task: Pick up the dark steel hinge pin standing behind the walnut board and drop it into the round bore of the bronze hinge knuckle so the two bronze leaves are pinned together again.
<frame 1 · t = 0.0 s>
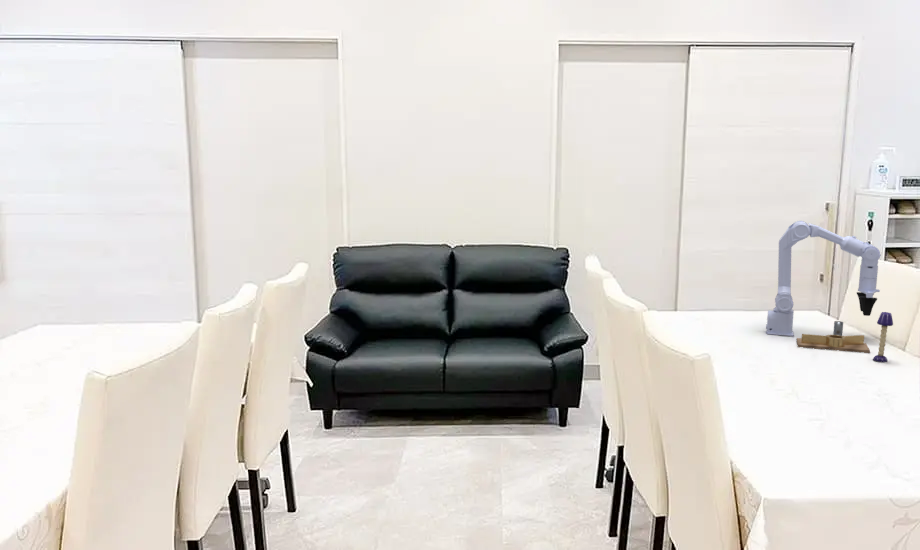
hand: (865, 313, 273), 10 cm above the table, tool pointing down, fingers open, 7 cm apart
board: (834, 348, 263), on the table
hinge: (832, 339, 264), on the board, point 3 cm above the table
toy lamp: (881, 361, 246), on the table
pin: (837, 340, 274), on the table
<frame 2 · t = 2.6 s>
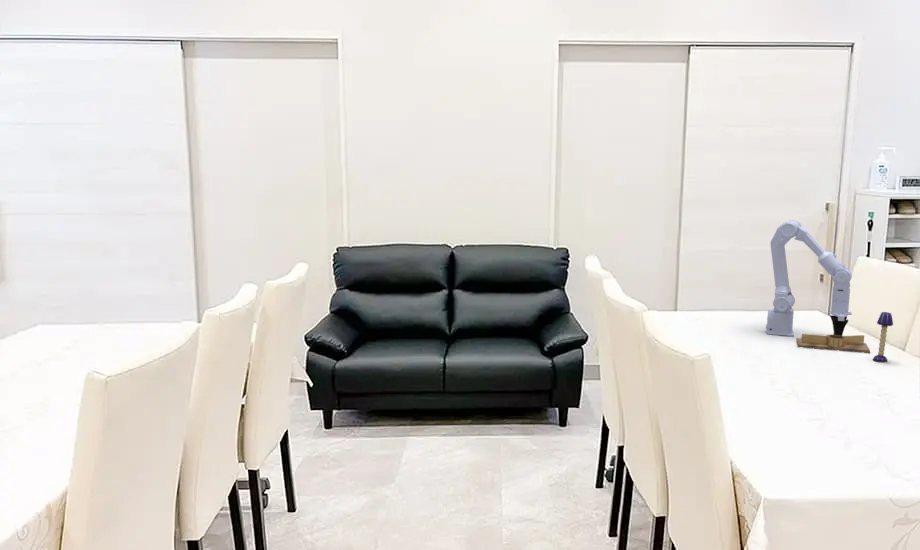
hand: (837, 335, 274), 2 cm above the table, tool pointing down, fingers closed on pin, 3 cm apart
pin: (837, 340, 274), on the table, touching gripper
everything else where it was.
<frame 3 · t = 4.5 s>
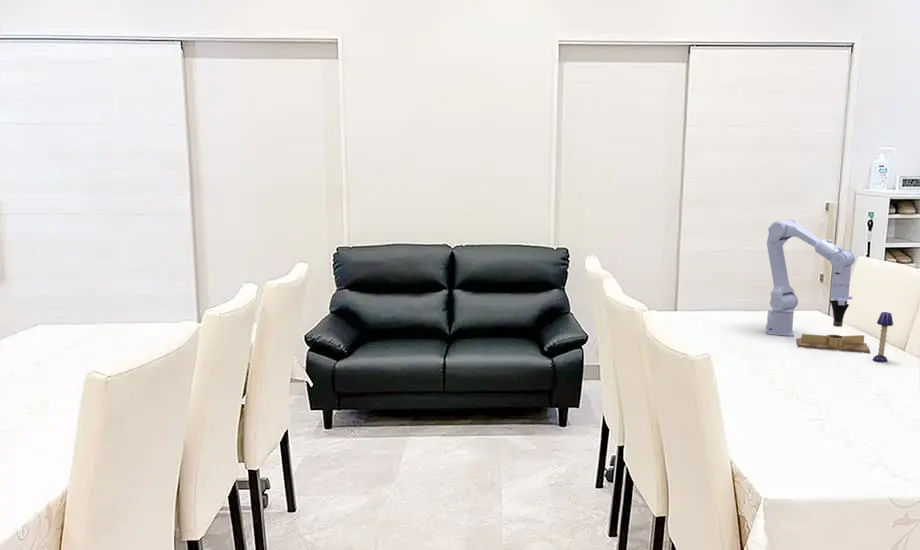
hand: (837, 321, 266), 9 cm above the table, tool pointing down, fingers closed on pin, 3 cm apart
pin: (837, 325, 266), point 7 cm above the table, touching gripper
everything else where it was.
when the fingers open (5 cm above the table, at t = 6.4 s): pin drops 2 cm, resting on board.
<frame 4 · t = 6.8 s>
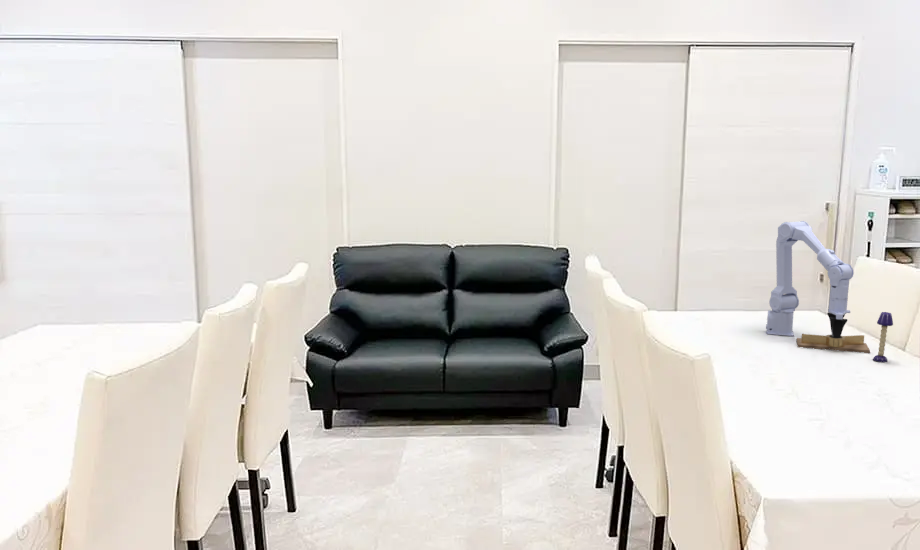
hand: (835, 335, 262), 5 cm above the table, tool pointing down, fingers open, 6 cm apart
pin: (835, 345, 263), point 1 cm above the table, touching board
everything else where it was.
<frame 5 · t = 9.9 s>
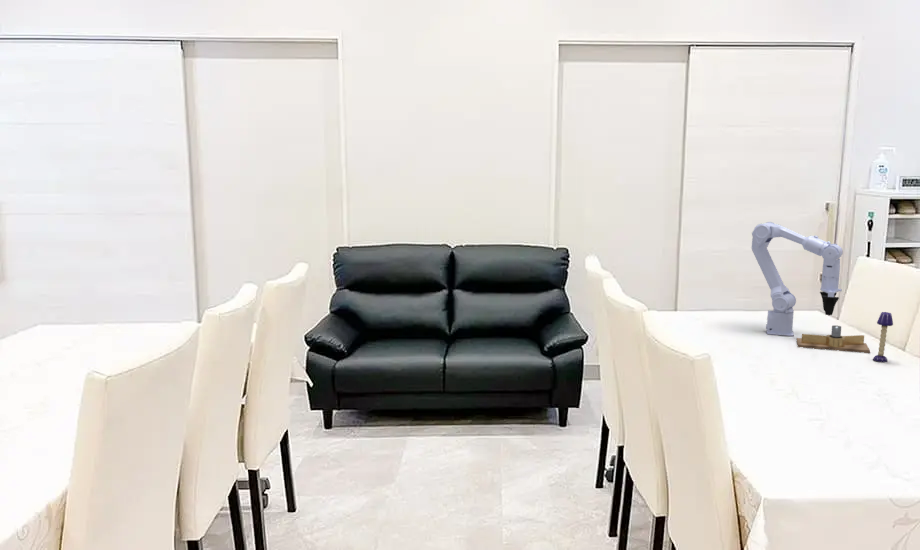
hand: (827, 312, 273), 10 cm above the table, tool pointing down, fingers open, 7 cm apart
nothing on the table moved.
at the end: pin 0.1 cm off-centre on the hinge, point 1.0 cm above the hinge's base; pin tilted 0°; the gripper is holding nothing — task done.
